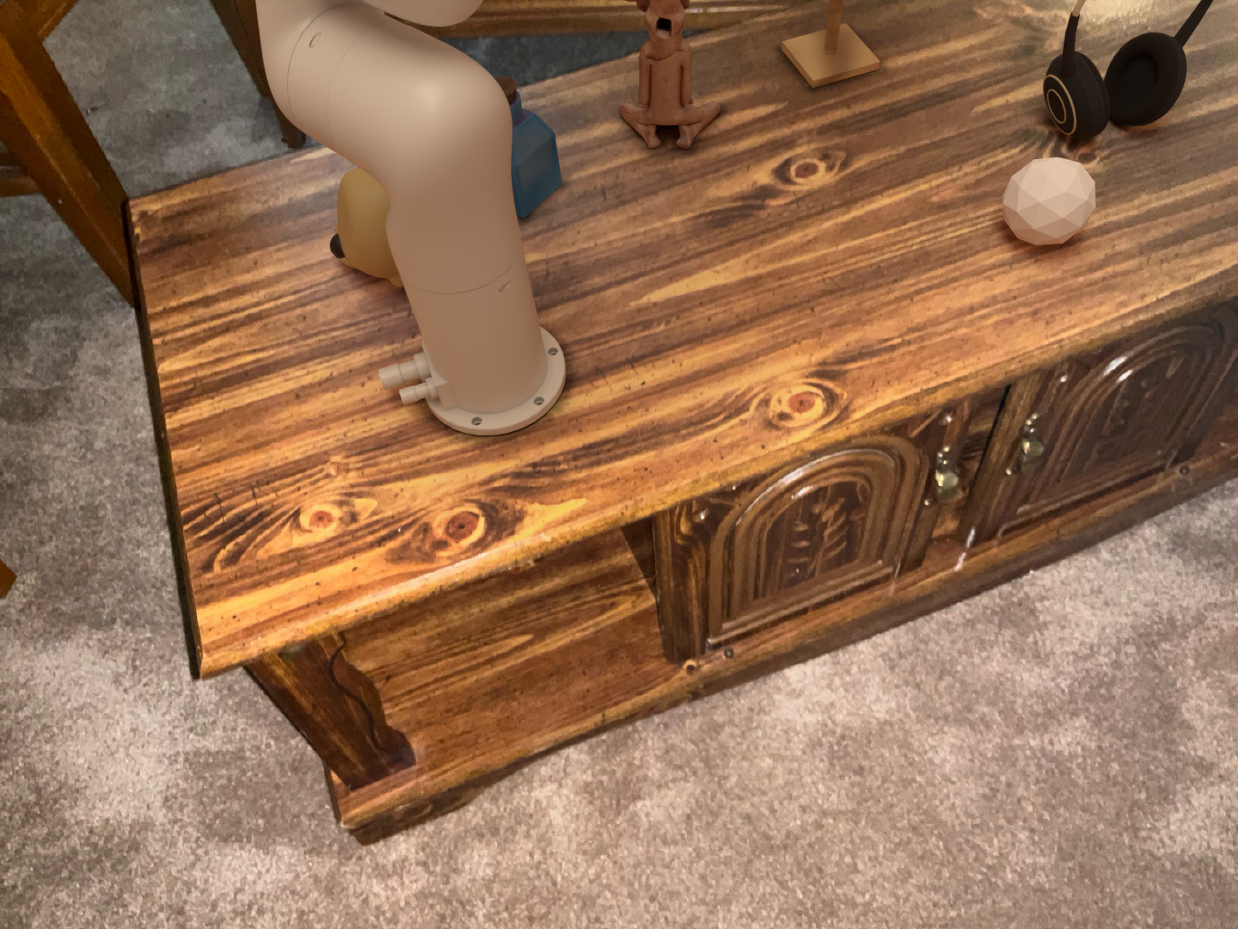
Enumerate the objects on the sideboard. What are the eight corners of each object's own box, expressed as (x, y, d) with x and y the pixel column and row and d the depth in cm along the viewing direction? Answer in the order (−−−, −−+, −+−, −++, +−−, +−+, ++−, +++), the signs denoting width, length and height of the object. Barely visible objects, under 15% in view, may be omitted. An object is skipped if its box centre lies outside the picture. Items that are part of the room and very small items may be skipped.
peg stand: (812, 88, 104) (823, -10, 95) (780, 49, 108) (788, -49, 99) (879, 69, 105) (896, -30, 96) (845, 30, 109) (858, -67, 100)
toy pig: (434, 257, 99) (359, 176, 96) (480, 215, 88) (397, 122, 86) (369, 317, 94) (288, 233, 91) (409, 280, 84) (320, 184, 81)
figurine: (721, 109, 103) (725, -82, 86) (704, 159, 99) (705, -32, 82) (627, 99, 105) (613, -90, 89) (606, 147, 101) (587, -42, 84)
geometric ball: (1004, 254, 92) (970, 187, 88) (1073, 201, 91) (1042, 131, 88) (1053, 273, 85) (1019, 201, 82) (1129, 216, 85) (1097, 140, 81)
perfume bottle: (523, 218, 96) (502, 115, 86) (477, 196, 98) (452, 93, 88) (562, 183, 98) (546, 79, 88) (516, 162, 101) (496, 58, 91)
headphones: (1007, 115, 99) (1069, -84, 83) (1138, 84, 100) (1224, -118, 84) (1050, 167, 94) (1125, -33, 78) (1186, 133, 96) (1288, -71, 79)
